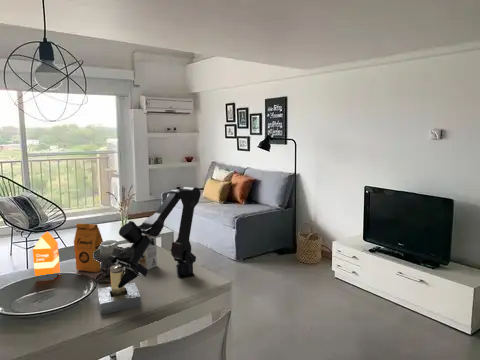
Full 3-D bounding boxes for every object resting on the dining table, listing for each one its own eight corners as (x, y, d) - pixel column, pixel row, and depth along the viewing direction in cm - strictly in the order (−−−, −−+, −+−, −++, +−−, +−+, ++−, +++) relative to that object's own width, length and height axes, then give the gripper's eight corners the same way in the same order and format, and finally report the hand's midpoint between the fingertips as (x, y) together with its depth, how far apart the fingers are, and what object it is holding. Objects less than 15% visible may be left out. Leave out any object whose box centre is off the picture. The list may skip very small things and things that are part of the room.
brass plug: (125, 298, 146) (122, 263, 144) (126, 304, 142) (124, 267, 140) (111, 301, 144) (109, 265, 142) (113, 306, 140) (110, 270, 138)
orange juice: (35, 282, 164) (31, 237, 161) (42, 274, 173) (38, 231, 170) (54, 280, 165) (50, 236, 163) (60, 273, 174) (57, 230, 171)
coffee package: (95, 274, 171) (92, 227, 168) (72, 272, 175) (69, 225, 172) (109, 267, 181) (106, 221, 178) (87, 264, 184) (84, 220, 182)
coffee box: (134, 266, 181) (132, 233, 179) (144, 262, 186) (142, 230, 184) (148, 270, 176) (146, 236, 174) (158, 265, 181) (156, 232, 179)
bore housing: (135, 292, 152) (134, 282, 151) (141, 306, 139) (140, 296, 139) (98, 298, 146) (97, 288, 146) (100, 314, 134) (99, 303, 133)
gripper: (110, 234, 149) (85, 270, 141) (139, 242, 137) (114, 282, 130) (128, 249, 156) (106, 283, 149) (158, 257, 144) (135, 295, 137)
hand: (114, 285), depth 141 cm, fingers closed on brass plug, 5 cm apart
